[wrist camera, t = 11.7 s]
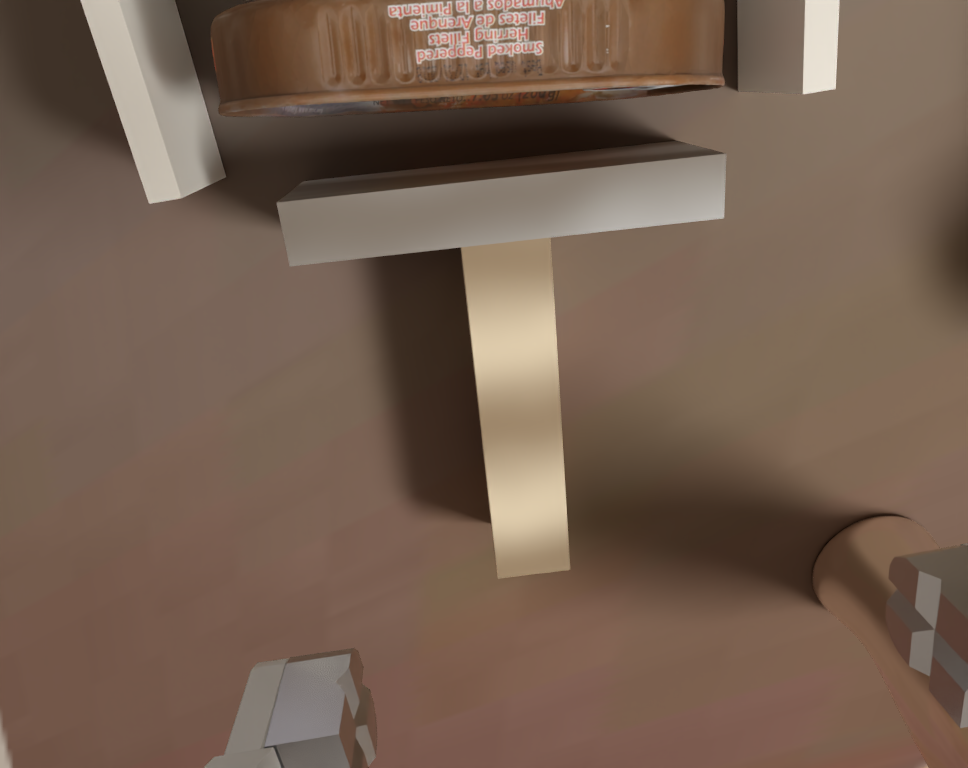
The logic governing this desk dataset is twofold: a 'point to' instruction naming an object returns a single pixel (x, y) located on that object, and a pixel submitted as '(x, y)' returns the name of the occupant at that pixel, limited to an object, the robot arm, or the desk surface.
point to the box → (189, 135)
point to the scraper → (509, 288)
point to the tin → (459, 53)
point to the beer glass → (862, 609)
